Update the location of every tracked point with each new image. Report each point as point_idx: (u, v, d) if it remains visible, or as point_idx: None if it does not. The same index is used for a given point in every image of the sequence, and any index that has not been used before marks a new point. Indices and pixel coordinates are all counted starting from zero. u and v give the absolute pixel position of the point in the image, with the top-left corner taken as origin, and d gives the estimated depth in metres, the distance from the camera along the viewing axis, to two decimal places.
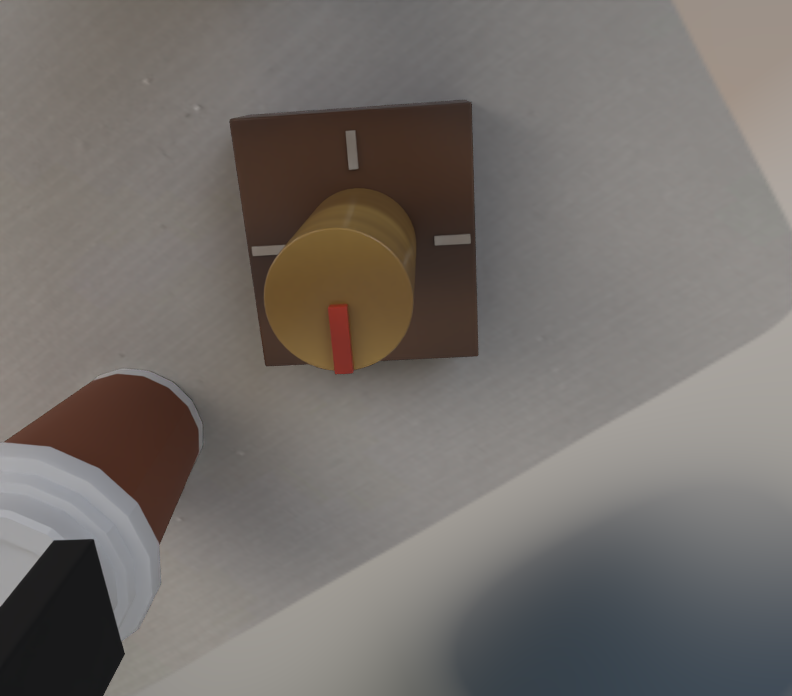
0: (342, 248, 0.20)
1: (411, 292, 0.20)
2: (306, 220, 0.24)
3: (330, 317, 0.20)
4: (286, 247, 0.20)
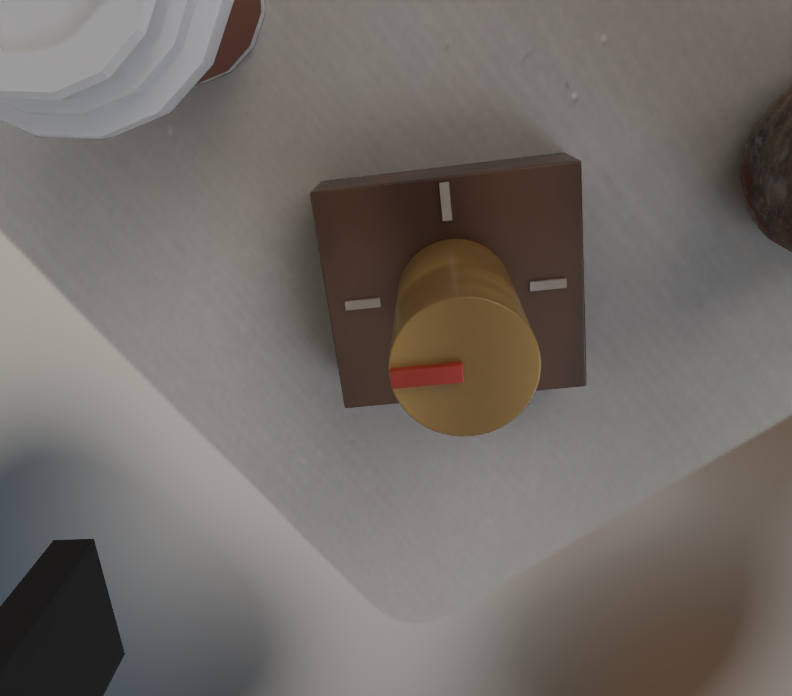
0: (520, 373, 0.20)
1: (476, 434, 0.21)
2: (503, 275, 0.23)
3: (452, 368, 0.20)
4: (522, 321, 0.19)
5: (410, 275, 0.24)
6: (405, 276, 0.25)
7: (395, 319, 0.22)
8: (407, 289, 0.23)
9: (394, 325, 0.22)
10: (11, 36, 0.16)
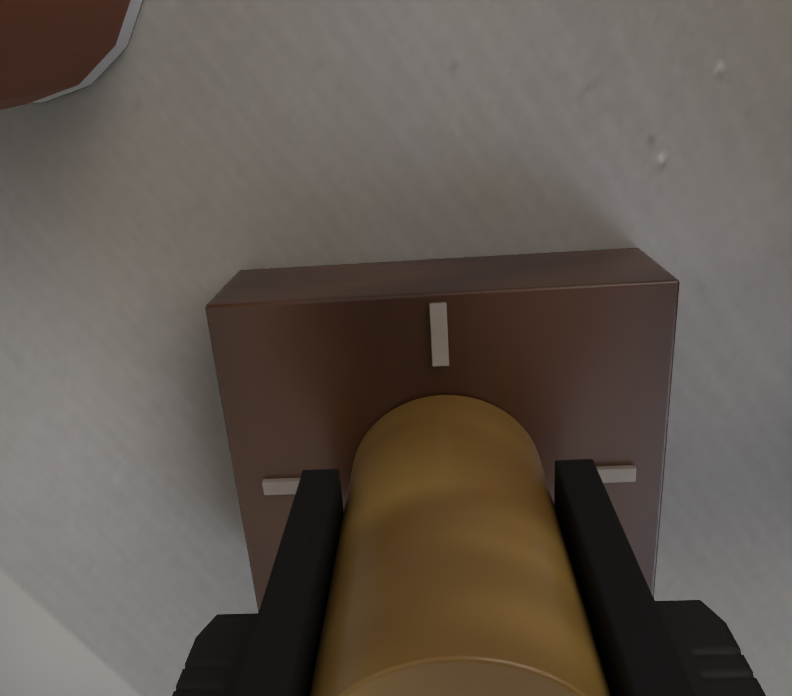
0: None
1: None
2: (539, 501, 0.13)
3: None
4: None
5: (368, 480, 0.13)
6: (361, 470, 0.14)
7: (328, 605, 0.11)
8: (358, 529, 0.12)
9: (324, 627, 0.11)
10: None
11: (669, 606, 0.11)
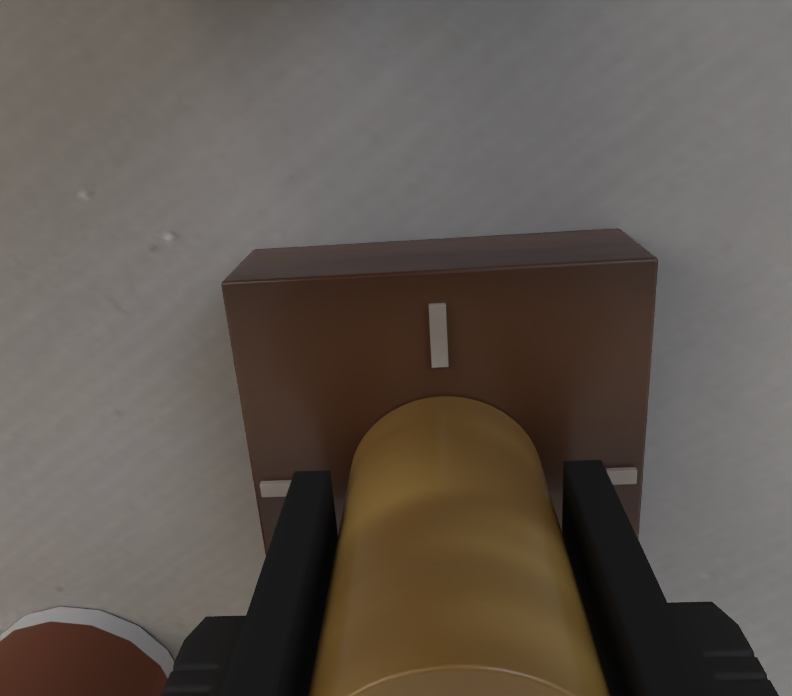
0: None
1: None
2: (538, 503, 0.12)
3: None
4: None
5: (366, 484, 0.13)
6: (359, 473, 0.14)
7: (325, 611, 0.11)
8: (355, 534, 0.12)
9: (321, 634, 0.11)
10: None
11: (681, 607, 0.11)
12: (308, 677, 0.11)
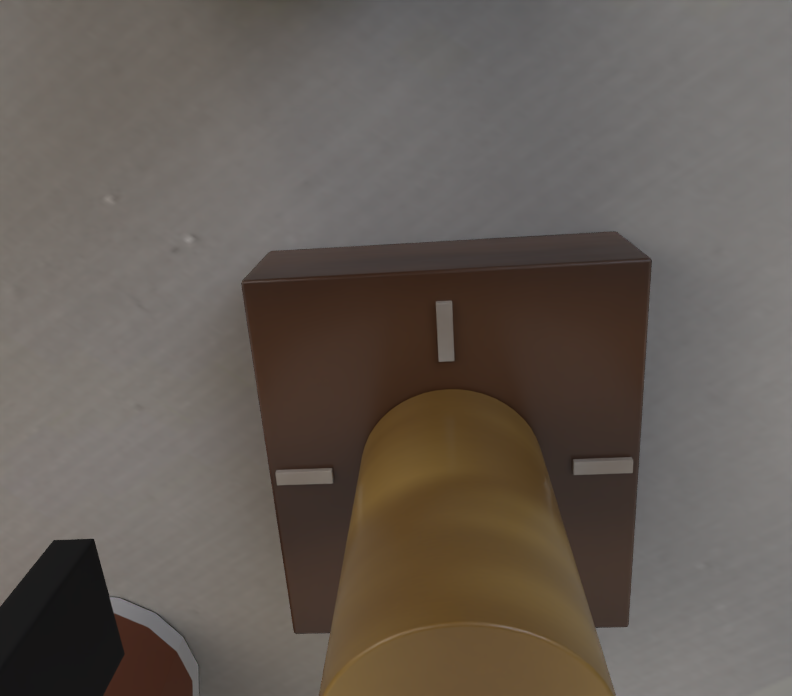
0: None
1: None
2: (539, 487, 0.13)
3: None
4: (592, 673, 0.09)
5: (377, 469, 0.14)
6: (370, 460, 0.15)
7: (341, 583, 0.12)
8: (368, 514, 0.13)
9: (337, 603, 0.12)
10: None
11: None
12: None
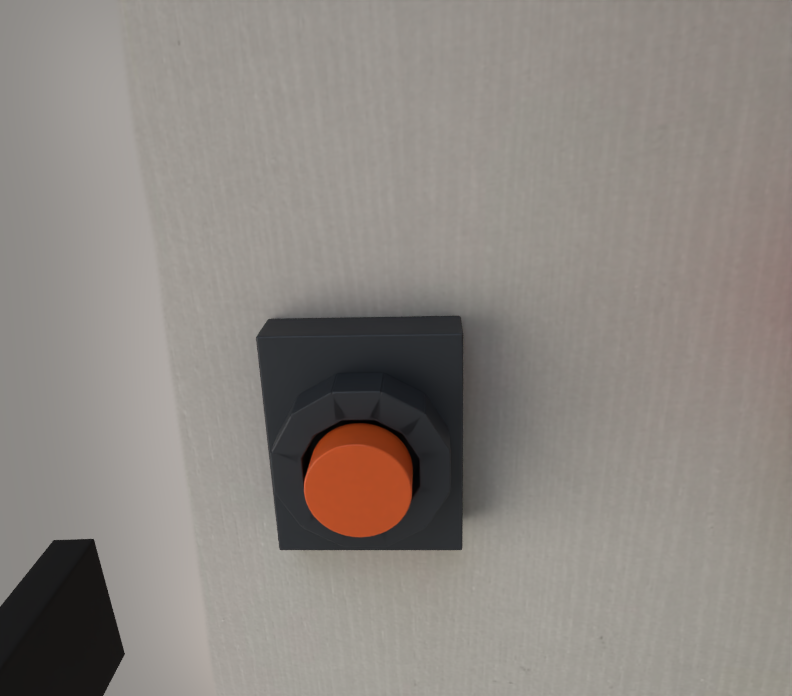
0: None
1: None
2: None
3: None
4: None
5: None
6: None
7: None
8: None
9: None
10: None
11: None
12: None
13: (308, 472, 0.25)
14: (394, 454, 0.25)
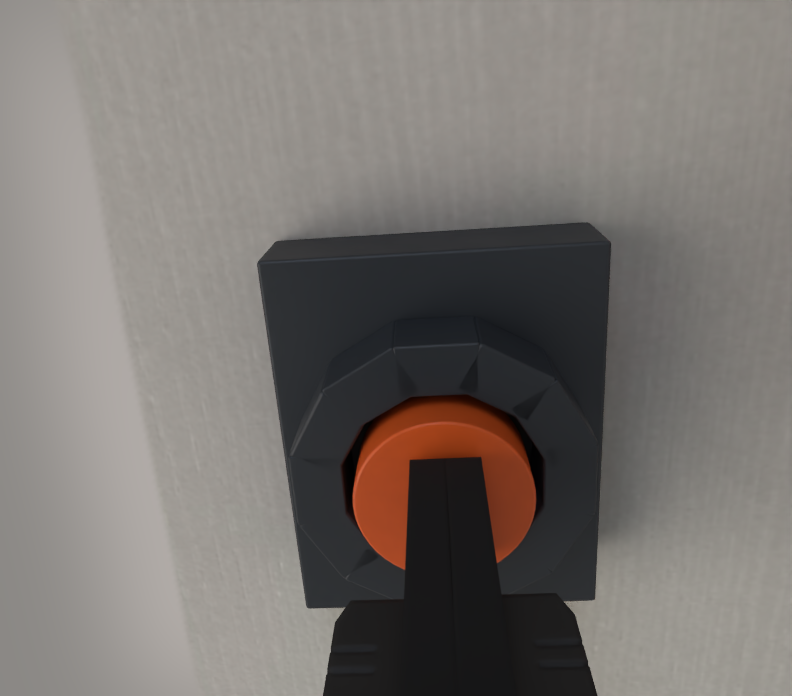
0: None
1: None
2: None
3: None
4: None
5: None
6: None
7: None
8: None
9: None
10: None
11: (525, 598, 0.11)
12: None
13: (360, 473, 0.15)
14: (505, 436, 0.15)
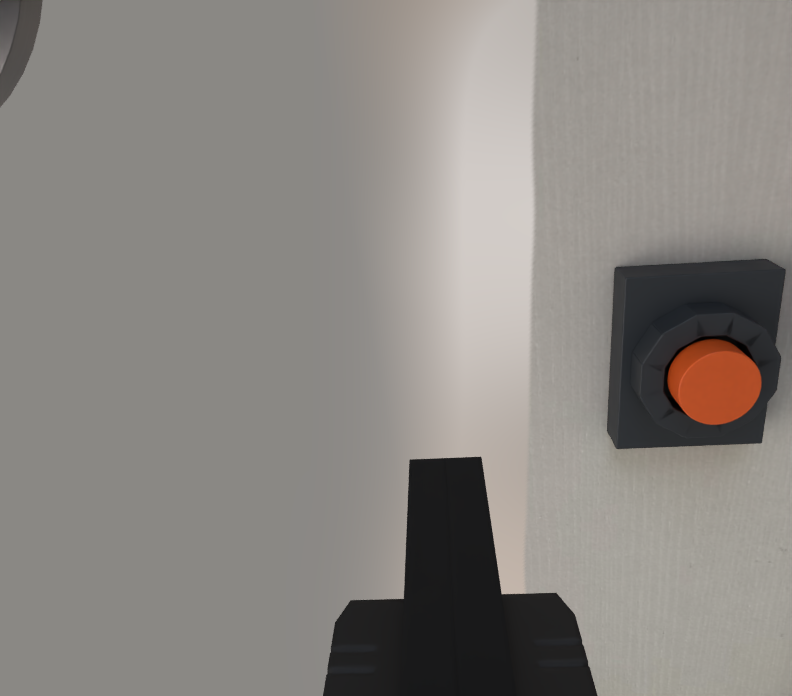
0: None
1: None
2: None
3: None
4: None
5: None
6: None
7: None
8: None
9: None
10: None
11: (525, 598, 0.11)
12: None
13: (685, 374, 0.34)
14: (749, 358, 0.34)
